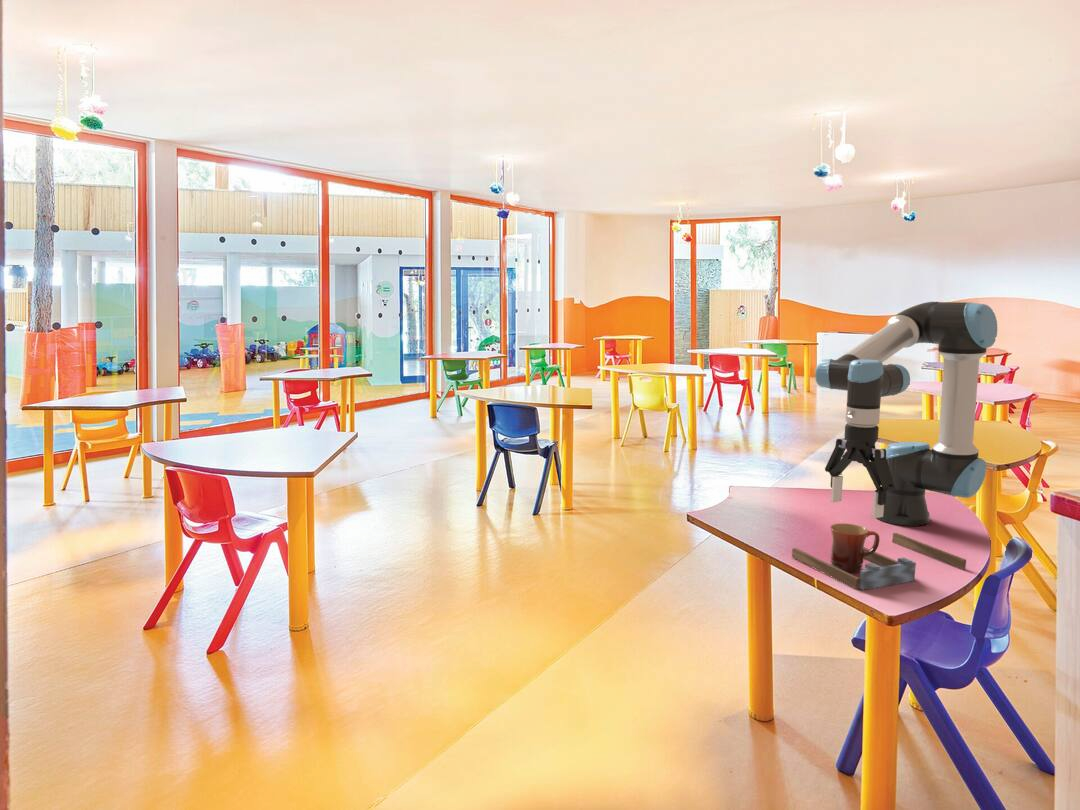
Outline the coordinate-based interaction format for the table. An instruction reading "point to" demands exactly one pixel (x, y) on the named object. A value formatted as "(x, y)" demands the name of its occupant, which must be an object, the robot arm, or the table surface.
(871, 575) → the bar
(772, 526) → the table surface
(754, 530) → the table surface
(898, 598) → the table surface
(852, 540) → the mug
